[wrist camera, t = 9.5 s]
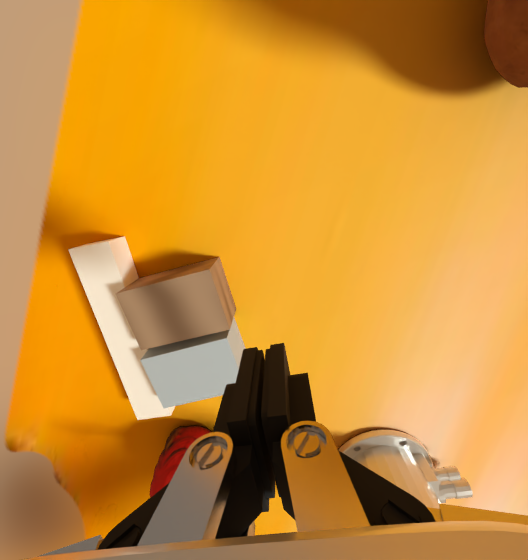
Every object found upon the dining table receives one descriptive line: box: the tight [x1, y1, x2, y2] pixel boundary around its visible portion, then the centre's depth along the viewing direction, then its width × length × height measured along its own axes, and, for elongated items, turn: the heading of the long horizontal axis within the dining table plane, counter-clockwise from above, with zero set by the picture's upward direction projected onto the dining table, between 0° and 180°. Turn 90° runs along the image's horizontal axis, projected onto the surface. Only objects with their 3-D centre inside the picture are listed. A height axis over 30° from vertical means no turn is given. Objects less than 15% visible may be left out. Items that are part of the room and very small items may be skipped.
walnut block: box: [116, 257, 236, 350], centre depth 28 cm, size 9×6×5 cm, turn 105°
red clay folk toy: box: [150, 426, 212, 497], centre depth 29 cm, size 8×7×15 cm
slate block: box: [140, 318, 245, 408], centre depth 30 cm, size 9×6×5 cm, turn 107°
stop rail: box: [68, 236, 175, 420], centre depth 30 cm, size 4×20×3 cm, turn 11°
